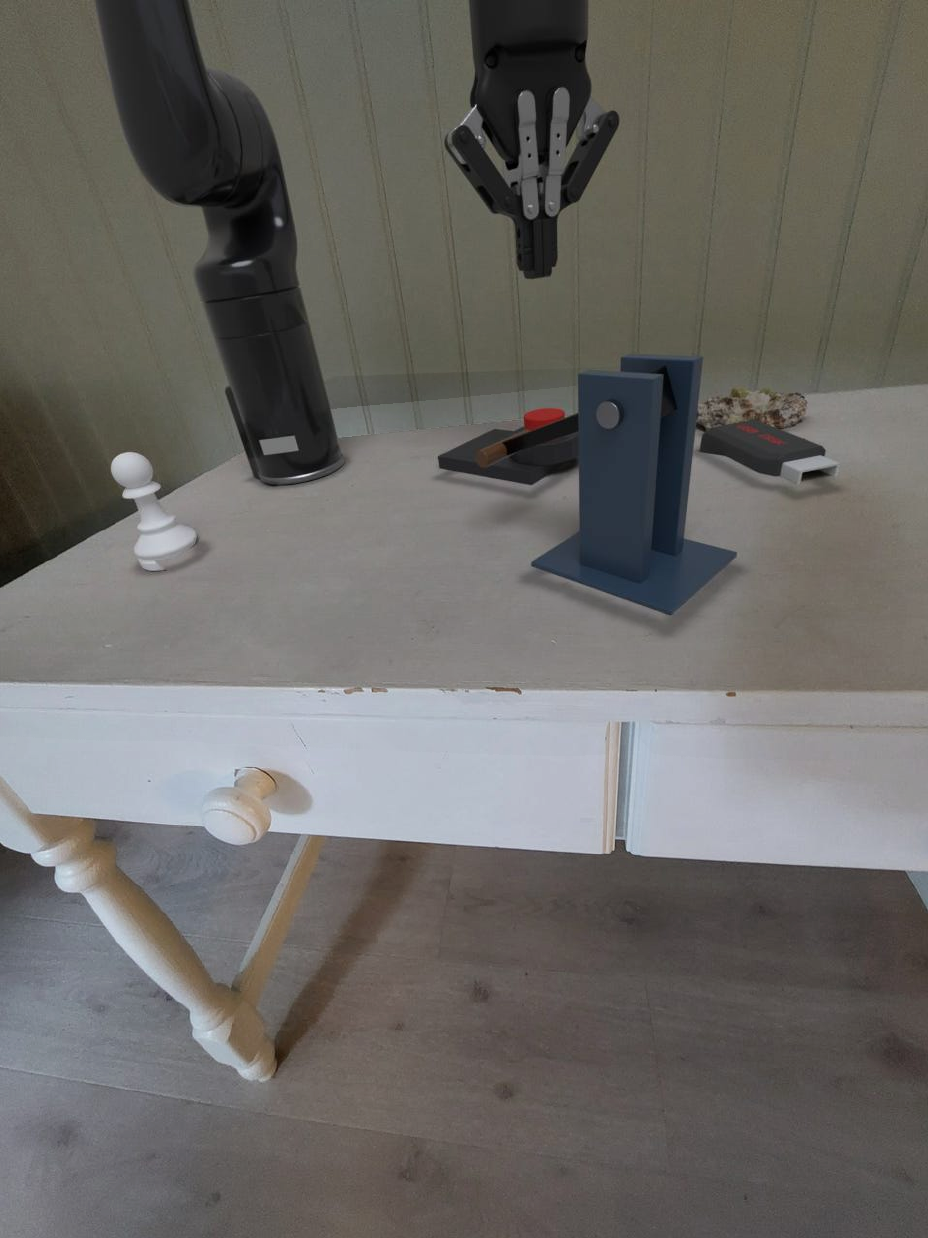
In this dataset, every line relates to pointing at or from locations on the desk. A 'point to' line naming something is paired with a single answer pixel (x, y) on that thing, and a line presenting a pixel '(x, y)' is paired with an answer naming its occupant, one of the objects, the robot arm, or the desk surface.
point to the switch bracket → (637, 487)
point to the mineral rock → (752, 408)
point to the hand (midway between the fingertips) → (537, 277)
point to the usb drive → (767, 450)
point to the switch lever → (558, 429)
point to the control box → (512, 458)
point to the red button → (542, 417)
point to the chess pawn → (150, 513)
